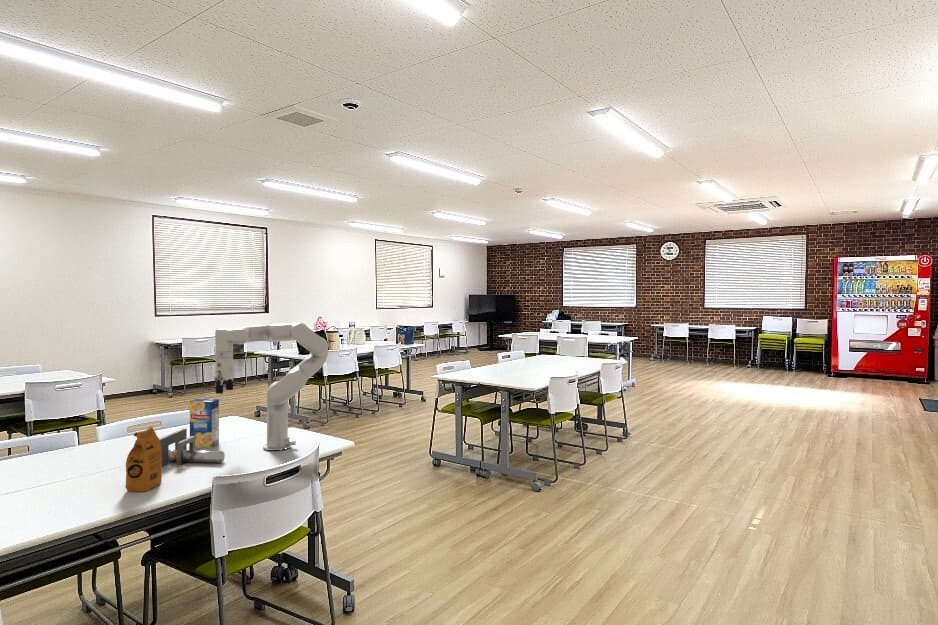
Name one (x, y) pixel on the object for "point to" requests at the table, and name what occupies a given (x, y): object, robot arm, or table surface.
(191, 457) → the steel tube
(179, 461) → the collar
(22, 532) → the table surface
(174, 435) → the plate
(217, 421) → the blue food box
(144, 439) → the coffee package
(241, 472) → the table surface
